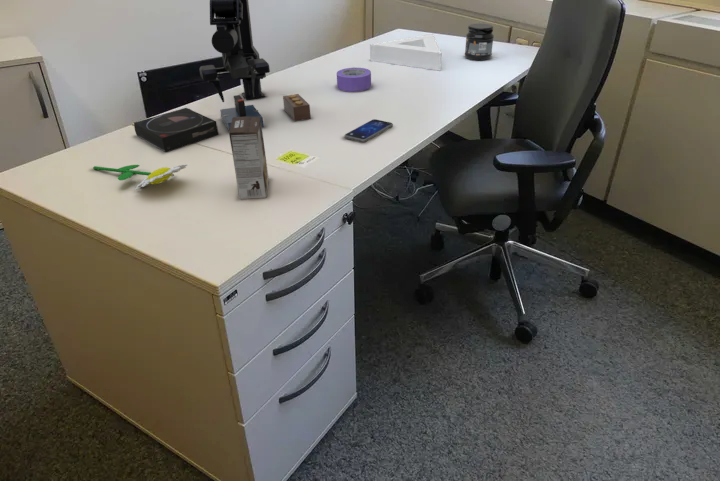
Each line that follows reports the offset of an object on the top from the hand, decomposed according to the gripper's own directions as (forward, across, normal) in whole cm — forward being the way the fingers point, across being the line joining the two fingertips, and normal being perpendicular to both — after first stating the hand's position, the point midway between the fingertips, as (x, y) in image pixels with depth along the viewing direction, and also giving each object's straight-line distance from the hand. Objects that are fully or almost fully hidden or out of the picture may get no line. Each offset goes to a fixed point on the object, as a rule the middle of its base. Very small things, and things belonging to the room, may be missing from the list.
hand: (239, 99), depth 160 cm
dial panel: (+7, 0, 0) cm, 7 cm away
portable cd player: (+7, -19, -1) cm, 20 cm away
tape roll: (+8, +43, +17) cm, 47 cm away
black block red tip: (+4, 0, 0) cm, 4 cm away
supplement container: (+8, +101, +29) cm, 105 cm away
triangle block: (+8, +73, +39) cm, 83 cm away
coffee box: (+7, -7, -43) cm, 44 cm away
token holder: (+7, +17, 0) cm, 19 cm away
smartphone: (+7, +31, -23) cm, 39 cm away
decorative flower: (+7, -32, -27) cm, 42 cm away
